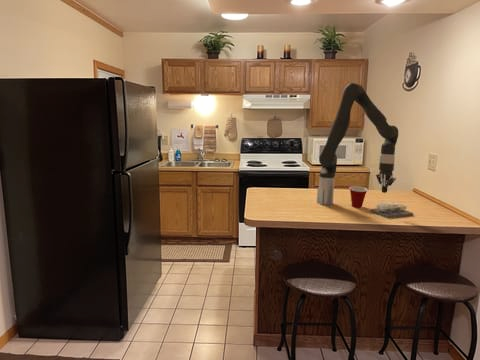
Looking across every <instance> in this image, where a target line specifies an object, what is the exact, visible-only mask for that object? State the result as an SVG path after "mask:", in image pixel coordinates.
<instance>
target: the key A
mask: <svg viewBox="0 0 480 360" xmlns="http://www.w3.org/2000/svg"><path fill="white" fill-rule="evenodd" d="M376 208H379V211H381V212H385V211H386V209H389V205H387V204H386V203H384V202H382V203H376ZM376 208H375V209H376Z"/></svg>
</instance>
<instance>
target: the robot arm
mask: <svg viewBox="0 0 480 360" xmlns="http://www.w3.org/2000/svg"><path fill="white" fill-rule="evenodd" d="M355 102H356V103H357V104H358V105H359V106H360V108H361V109H363V111H364V113H365V115H366V117H367V119H368V120H369V121H370V122H371V123H372V124H373V125H374V127H375V129H376V130H377V132H378V134H379V135H380V137H381V138H383V139H384V142H383V143H382V145H381V148H380V156H379V163H378V164H379V166H378V167H379V168H378V170H379V173H378V174H376V175H375V177H376V179H377V181H378V184H379V185H381V193H382V194H383V193H384V194H386V193H387V192H388V188H389V186H392V185H393V183H394V182H395V181H396V180H397V178H396V177H394V176H393V175H394V173H393V172H394V169H395V154H396V145H397V141H398V138H399V129H398V127H397V126H396V125H390V124H389V123H388V121H387V117H386V116H385V115H384V113H382V112H381V110H380V109H379V108H378V107H377V106H376V105H375V103H374V102H373V101H372V100H371V98H370V97H369V95H368V94H367V92H366V90H365V89H364V87H363V86H362V85H361V84H358V83H354V82H351V83H348V84H347V85H346V86H345V88H344V89H343V93H342V96H341V100H340V104H339V107H338V110H337V113H336V114H335V118H334V120H333V122H332V126H330V127H331V128H330V130H329V134H328V136H327V140H326V143H325V145H324V147H323V149H322V151H321V152H320V155H319V158H318V159H319V164H320V166H321V170H320V172H319V181H318V183H319V184H318V187H317V190H316V191H317V193H316V203H317V204H319V205H321V206H331V205H333V204H334V196H335V195H334V193H335V192H334V191H335V180H336V179H335V177H336V173H337V166H338V165H337V164H338V156H337V154H336V152H337V150H338V147H339V145H340V144H341V142H342V141H343V139H344V137H346V134H347V131H348V129H349V126H350V123H351V111H352V108H353V105H354V103H355Z"/></svg>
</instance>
